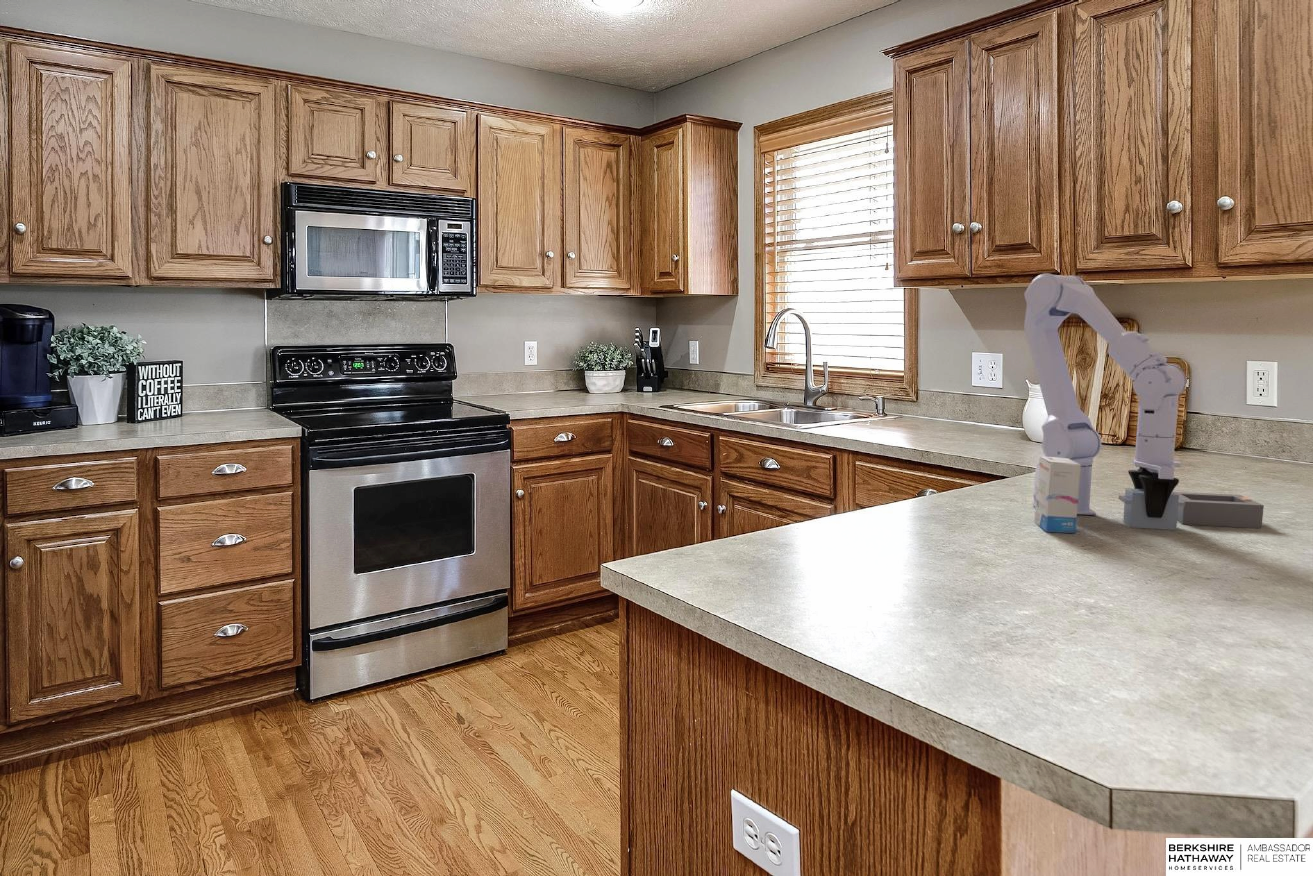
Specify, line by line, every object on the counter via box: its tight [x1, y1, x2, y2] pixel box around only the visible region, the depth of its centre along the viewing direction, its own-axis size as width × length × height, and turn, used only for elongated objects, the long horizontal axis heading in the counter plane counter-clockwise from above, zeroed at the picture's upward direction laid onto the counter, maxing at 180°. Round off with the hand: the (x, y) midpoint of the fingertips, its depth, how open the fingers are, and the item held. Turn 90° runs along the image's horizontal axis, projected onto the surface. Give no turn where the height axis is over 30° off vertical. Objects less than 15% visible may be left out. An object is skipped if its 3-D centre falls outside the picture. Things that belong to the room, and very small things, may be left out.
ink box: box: [1033, 455, 1081, 534], centre depth 144 cm, size 8×5×12 cm, turn 168°
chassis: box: [1173, 491, 1264, 529], centre depth 150 cm, size 12×10×4 cm
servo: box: [1118, 487, 1185, 531], centre depth 146 cm, size 9×4×7 cm, turn 75°
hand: (1150, 514), depth 146 cm, fingers closed on servo, 4 cm apart
